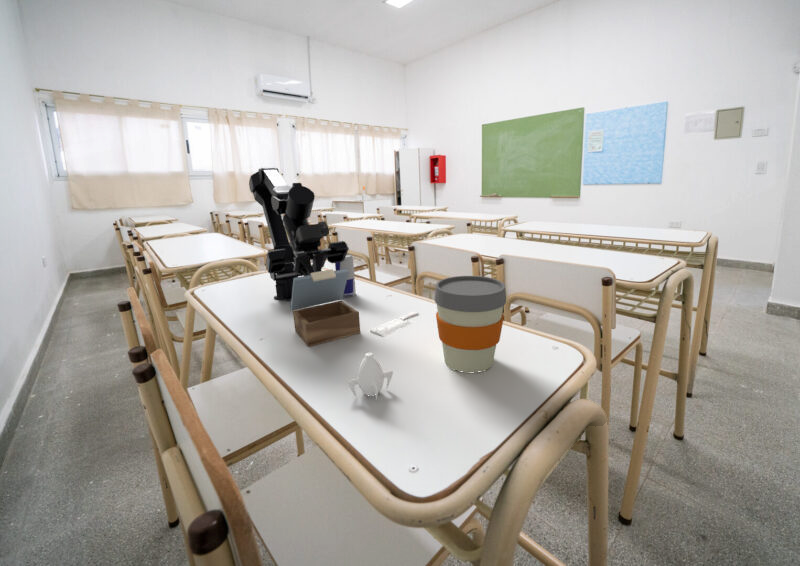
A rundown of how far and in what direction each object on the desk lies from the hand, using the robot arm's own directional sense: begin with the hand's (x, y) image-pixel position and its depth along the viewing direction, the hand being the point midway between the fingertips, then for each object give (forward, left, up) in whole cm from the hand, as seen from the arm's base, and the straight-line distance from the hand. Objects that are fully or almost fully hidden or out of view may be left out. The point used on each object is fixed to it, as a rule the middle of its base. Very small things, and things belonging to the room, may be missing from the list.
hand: (319, 286), depth 84 cm
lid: (+1, +1, -1) cm, 2 cm away
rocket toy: (+20, +24, -11) cm, 32 cm away
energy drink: (-23, -8, -10) cm, 27 cm away
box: (+1, +2, -10) cm, 11 cm away
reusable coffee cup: (+4, +36, -10) cm, 37 cm away
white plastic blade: (-8, +16, -11) cm, 21 cm away
